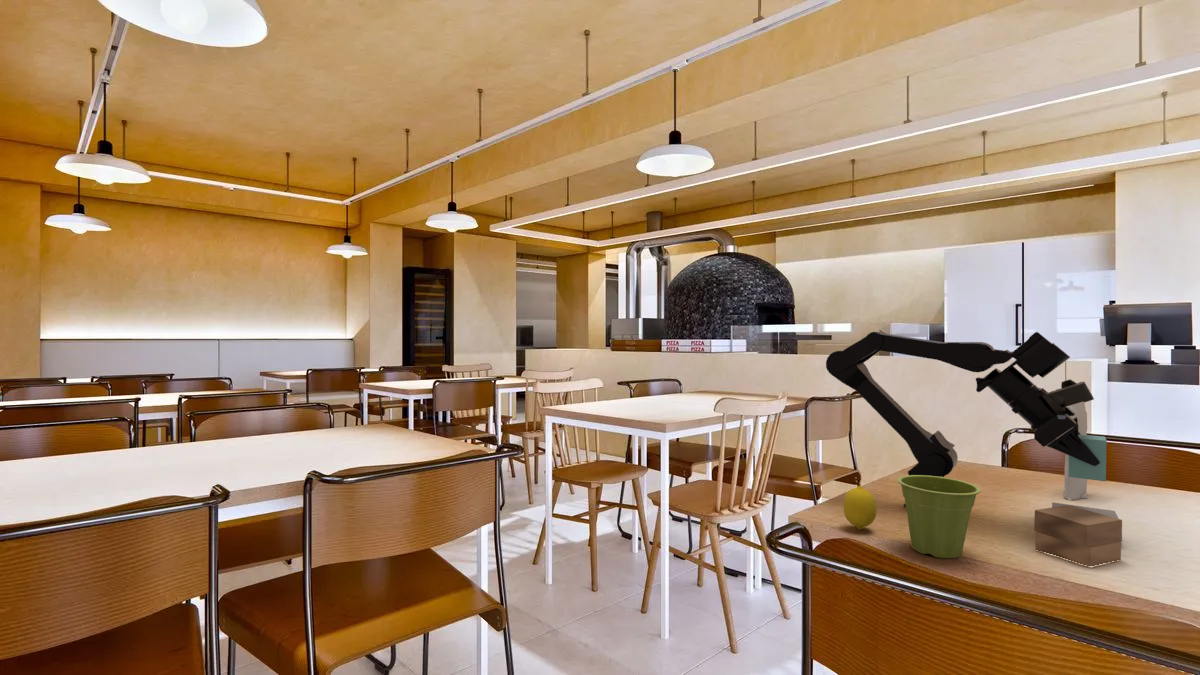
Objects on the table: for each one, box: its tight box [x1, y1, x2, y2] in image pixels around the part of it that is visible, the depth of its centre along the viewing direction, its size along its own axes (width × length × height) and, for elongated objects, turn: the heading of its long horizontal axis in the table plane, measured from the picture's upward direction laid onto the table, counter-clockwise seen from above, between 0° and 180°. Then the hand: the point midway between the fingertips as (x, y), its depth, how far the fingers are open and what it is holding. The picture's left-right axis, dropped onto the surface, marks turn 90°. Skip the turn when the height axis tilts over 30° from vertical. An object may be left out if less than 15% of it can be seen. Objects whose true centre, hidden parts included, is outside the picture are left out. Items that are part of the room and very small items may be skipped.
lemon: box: [842, 485, 877, 530], centre depth 109 cm, size 6×6×8 cm
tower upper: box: [1033, 504, 1123, 548], centre depth 96 cm, size 8×8×4 cm
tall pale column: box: [1063, 402, 1088, 501], centre depth 131 cm, size 11×4×22 cm, turn 127°
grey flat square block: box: [1051, 502, 1120, 519], centre depth 106 cm, size 9×9×4 cm
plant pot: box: [897, 475, 981, 559], centre depth 98 cm, size 12×12×11 cm
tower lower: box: [1034, 531, 1122, 566], centre depth 96 cm, size 8×8×4 cm
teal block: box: [1068, 434, 1107, 482], centre depth 105 cm, size 5×5×7 cm
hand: (1096, 461), depth 104 cm, fingers closed on teal block, 5 cm apart
